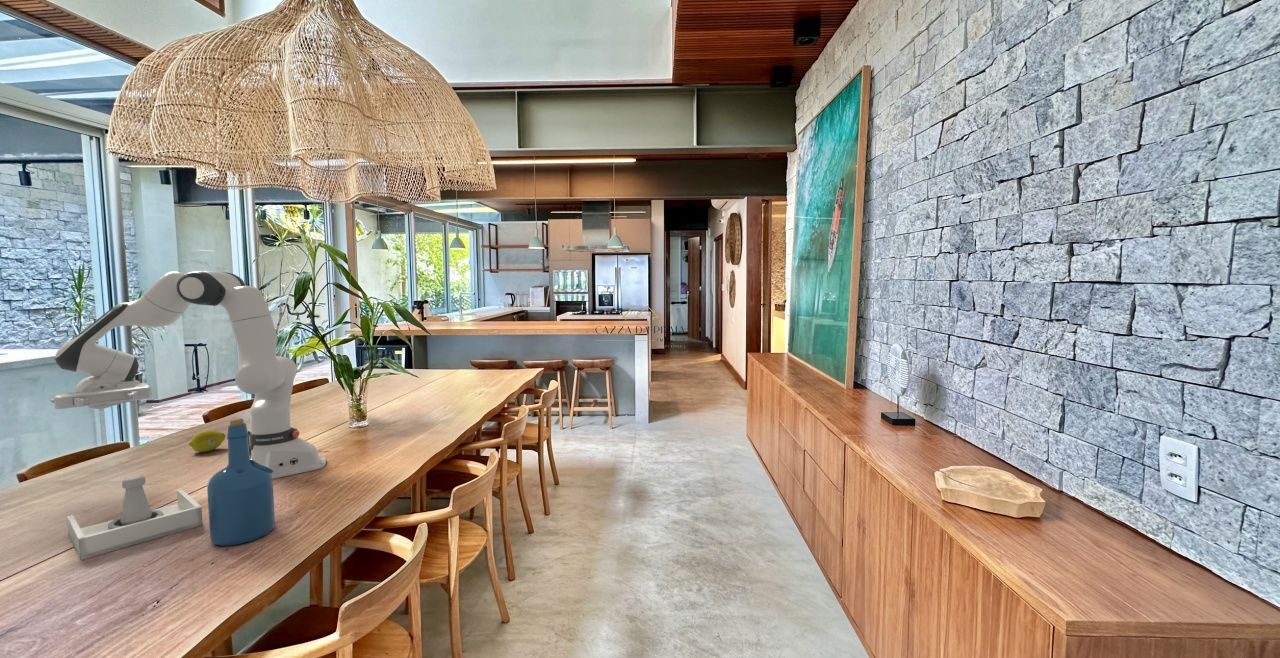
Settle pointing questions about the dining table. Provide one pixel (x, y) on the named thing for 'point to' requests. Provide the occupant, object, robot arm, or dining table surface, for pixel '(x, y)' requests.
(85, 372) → the robot arm
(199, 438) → the lemon
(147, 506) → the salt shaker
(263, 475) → the wine bottle
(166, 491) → the dining table surface
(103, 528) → the box
